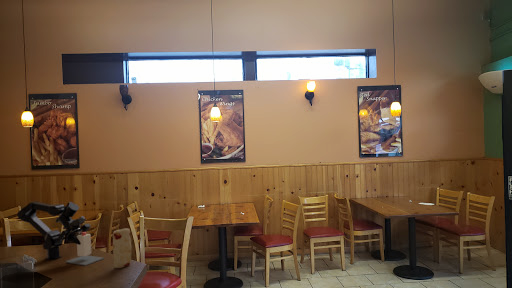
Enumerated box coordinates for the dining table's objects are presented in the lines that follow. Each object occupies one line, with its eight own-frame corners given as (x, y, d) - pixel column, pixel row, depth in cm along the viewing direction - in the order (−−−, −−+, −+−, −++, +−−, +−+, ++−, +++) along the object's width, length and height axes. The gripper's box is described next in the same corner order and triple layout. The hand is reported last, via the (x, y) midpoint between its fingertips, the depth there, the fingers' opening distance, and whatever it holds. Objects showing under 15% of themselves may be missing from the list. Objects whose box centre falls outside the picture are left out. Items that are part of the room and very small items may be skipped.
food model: (117, 270, 189) (115, 231, 189) (111, 268, 194) (109, 229, 193) (134, 265, 197) (133, 227, 196) (128, 262, 201) (126, 226, 201)
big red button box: (77, 255, 207) (76, 233, 206) (84, 252, 211) (83, 231, 211) (84, 256, 205) (83, 233, 205) (91, 253, 210) (90, 231, 210)
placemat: (65, 262, 206) (65, 261, 206) (84, 256, 217) (84, 254, 217) (85, 265, 199) (85, 264, 199) (103, 258, 210) (103, 257, 210)
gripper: (61, 216, 201) (78, 237, 197) (87, 209, 218) (103, 229, 215) (51, 230, 204) (67, 251, 200) (77, 222, 221) (93, 241, 218)
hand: (83, 242), depth 208 cm, fingers closed on big red button box, 5 cm apart
